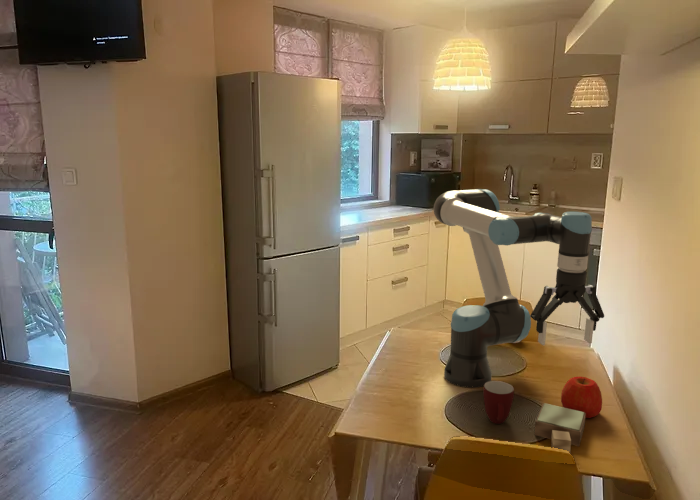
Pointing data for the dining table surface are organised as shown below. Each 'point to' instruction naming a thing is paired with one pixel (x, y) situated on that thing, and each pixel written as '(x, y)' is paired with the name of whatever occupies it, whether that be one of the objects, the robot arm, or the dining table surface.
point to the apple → (582, 396)
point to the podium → (560, 422)
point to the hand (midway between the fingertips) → (564, 342)
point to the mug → (498, 400)
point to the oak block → (561, 440)
